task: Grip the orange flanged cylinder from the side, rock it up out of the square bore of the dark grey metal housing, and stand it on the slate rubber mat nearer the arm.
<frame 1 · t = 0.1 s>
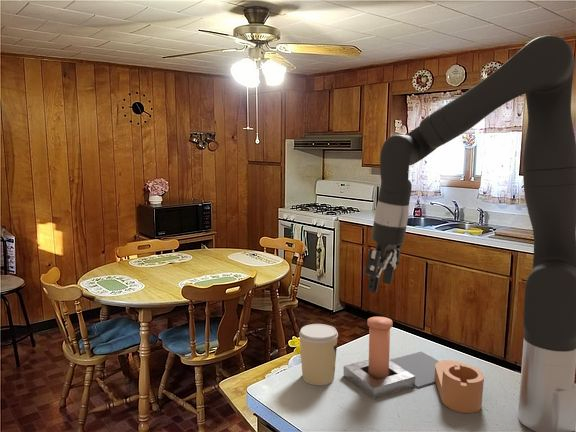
hand: (379, 287, 109), 22 cm above the table, tool pointing down, fingers open, 8 cm apart
mat: (419, 369, 115), on the table
orange flanged cylinder: (379, 351, 108), in the housing
housing: (378, 380, 109), on the table
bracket: (456, 390, 105), on the table, touching mat
coffee cup: (318, 378, 111), on the table
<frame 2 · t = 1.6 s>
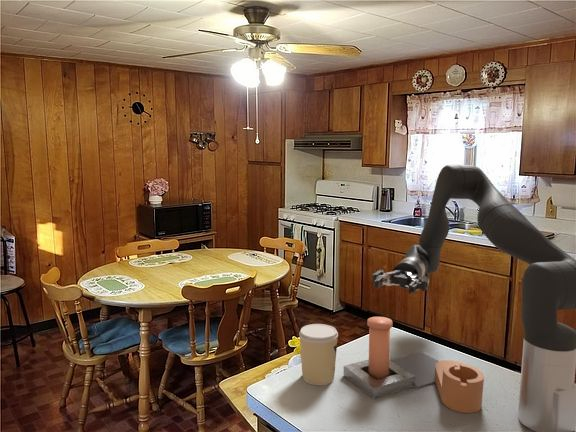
hand: (393, 287, 116), 20 cm above the table, tool horizontal, fingers open, 8 cm apart
nothing on the table moved.
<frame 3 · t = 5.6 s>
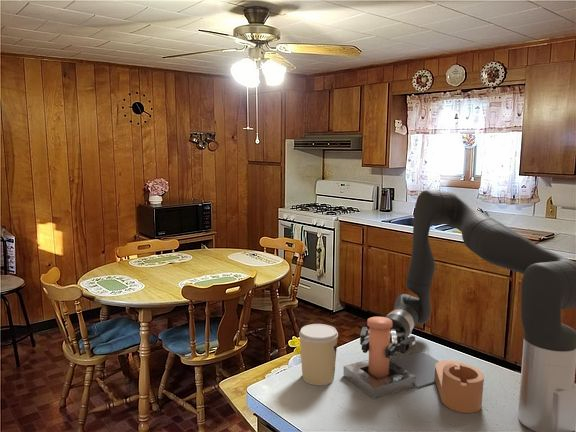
hand: (375, 351, 106), 9 cm above the table, tool horizontal, fingers closed on orange flanged cylinder, 5 cm apart
orange flanged cylinder: (379, 351, 108), in the housing, touching gripper
everything else where it was.
when the fingers open (10 cm above the table, at t = 11.4 s): orange flanged cylinder drops 1 cm, resting on mat.
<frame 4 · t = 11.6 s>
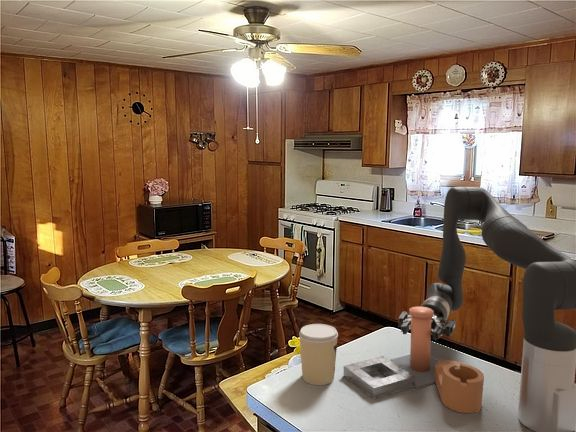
hand: (419, 333, 112), 10 cm above the table, tool horizontal, fingers open, 6 cm apart
orange flanged cylinder: (420, 339, 114), on the mat
everything else where it was.
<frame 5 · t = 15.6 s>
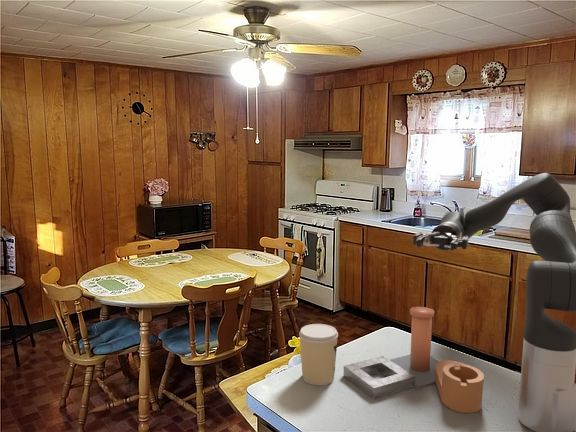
hand: (435, 245, 120), 30 cm above the table, tool horizontal, fingers open, 8 cm apart
nothing on the table moved.
at the end: orange flanged cylinder inside the target area on the mat (0.1 cm from its centre), point 7.9 cm above the mat's base; orange flanged cylinder tilted 0°; the gripper is holding nothing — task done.
